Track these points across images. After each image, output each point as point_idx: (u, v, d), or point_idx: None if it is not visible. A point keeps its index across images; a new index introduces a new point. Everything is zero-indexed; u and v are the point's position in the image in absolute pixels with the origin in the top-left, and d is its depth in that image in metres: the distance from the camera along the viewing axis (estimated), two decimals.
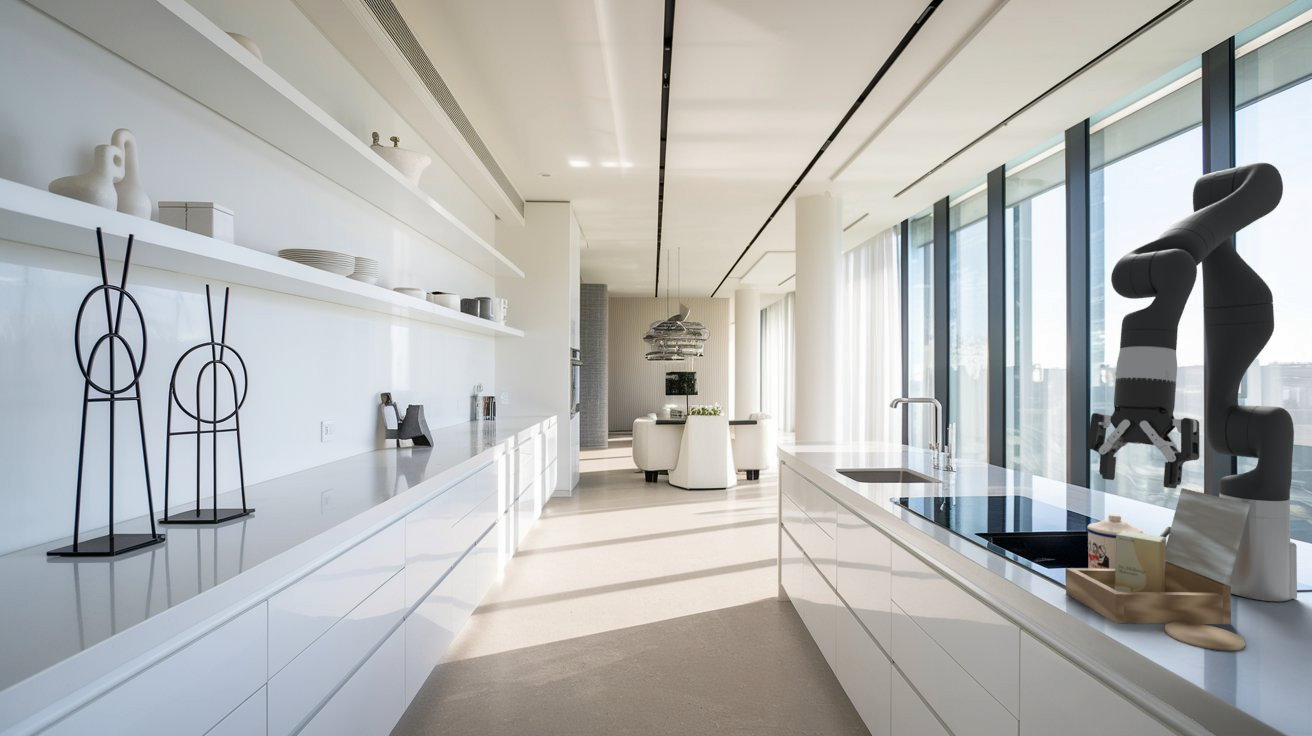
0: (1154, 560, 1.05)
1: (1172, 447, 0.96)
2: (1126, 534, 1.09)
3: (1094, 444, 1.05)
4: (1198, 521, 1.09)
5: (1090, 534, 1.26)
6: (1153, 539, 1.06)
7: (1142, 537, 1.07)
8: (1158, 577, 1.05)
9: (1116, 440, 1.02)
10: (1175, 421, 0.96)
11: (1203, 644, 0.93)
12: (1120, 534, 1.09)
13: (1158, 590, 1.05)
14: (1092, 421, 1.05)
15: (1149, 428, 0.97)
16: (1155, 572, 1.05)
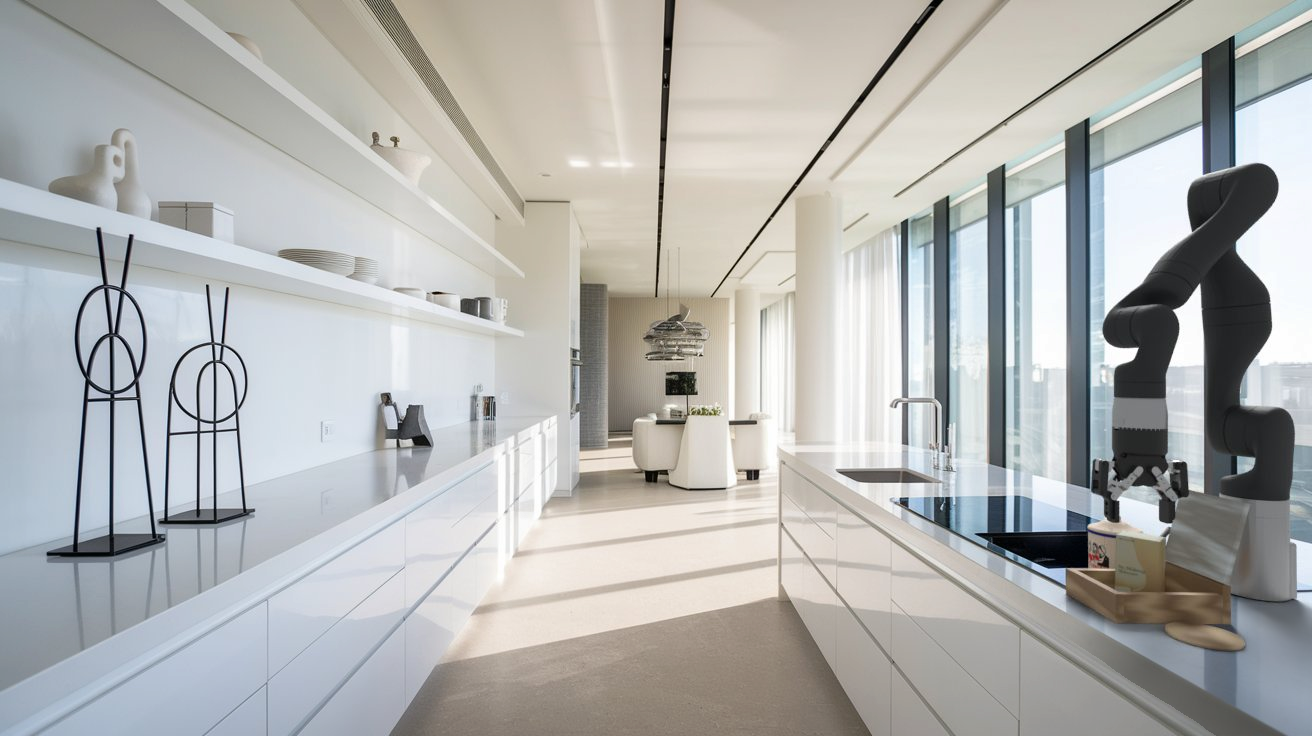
0: (1154, 560, 1.05)
1: None
2: (1126, 534, 1.09)
3: (1106, 491, 1.07)
4: (1198, 521, 1.09)
5: (1090, 534, 1.26)
6: (1153, 539, 1.06)
7: (1142, 537, 1.07)
8: (1158, 577, 1.05)
9: None
10: (1169, 464, 1.08)
11: (1203, 644, 0.93)
12: (1120, 534, 1.09)
13: (1158, 590, 1.05)
14: (1103, 468, 1.07)
15: (1160, 473, 1.06)
16: (1155, 572, 1.05)
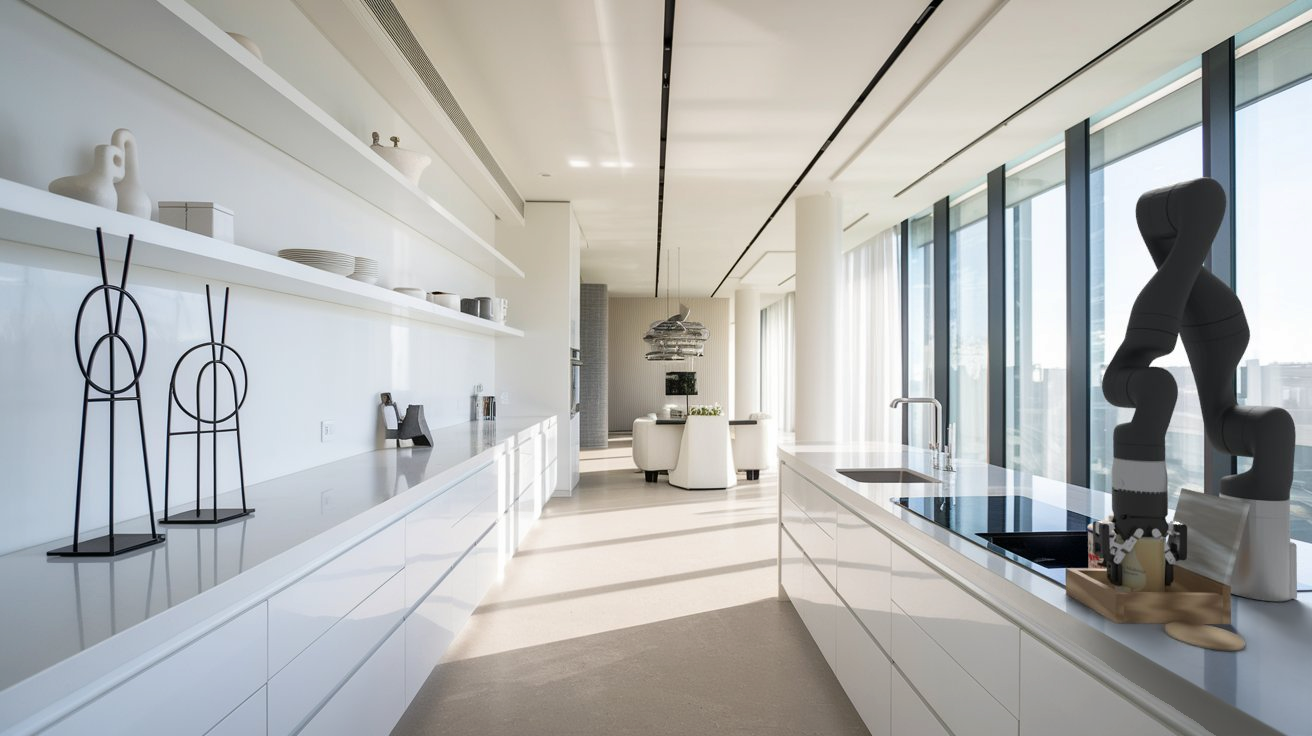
0: (1154, 560, 1.05)
1: None
2: None
3: (1109, 554, 1.07)
4: (1198, 521, 1.09)
5: (1090, 534, 1.26)
6: (1153, 539, 1.06)
7: (1142, 537, 1.07)
8: (1158, 577, 1.05)
9: None
10: (1170, 525, 1.08)
11: (1203, 644, 0.93)
12: None
13: (1158, 590, 1.05)
14: (1103, 532, 1.07)
15: (1160, 535, 1.06)
16: (1154, 572, 1.05)
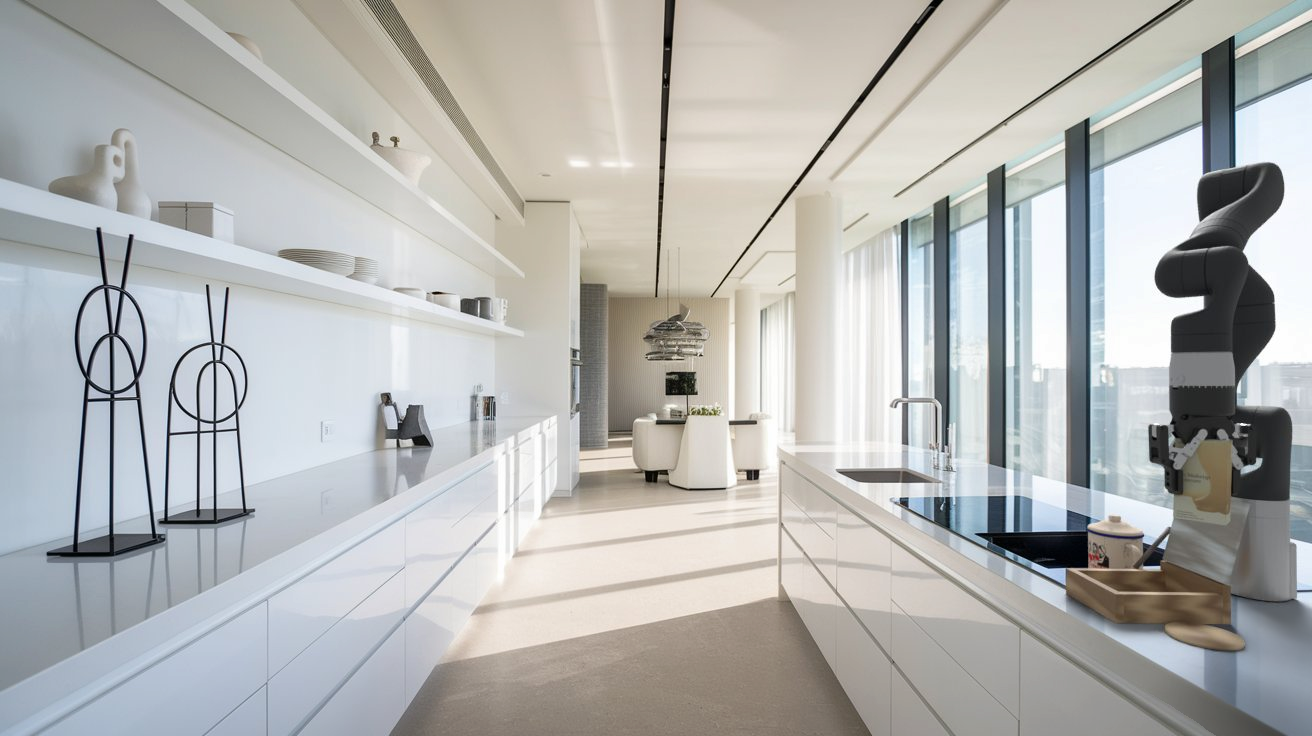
0: (1220, 464, 0.93)
1: None
2: None
3: (1168, 459, 0.96)
4: None
5: (1090, 534, 1.26)
6: (1219, 440, 0.94)
7: (1206, 439, 0.95)
8: (1225, 482, 0.93)
9: (1192, 452, 0.95)
10: (1236, 427, 0.96)
11: (1203, 644, 0.93)
12: None
13: (1225, 497, 0.93)
14: (1161, 434, 0.96)
15: (1226, 436, 0.94)
16: (1221, 477, 0.93)
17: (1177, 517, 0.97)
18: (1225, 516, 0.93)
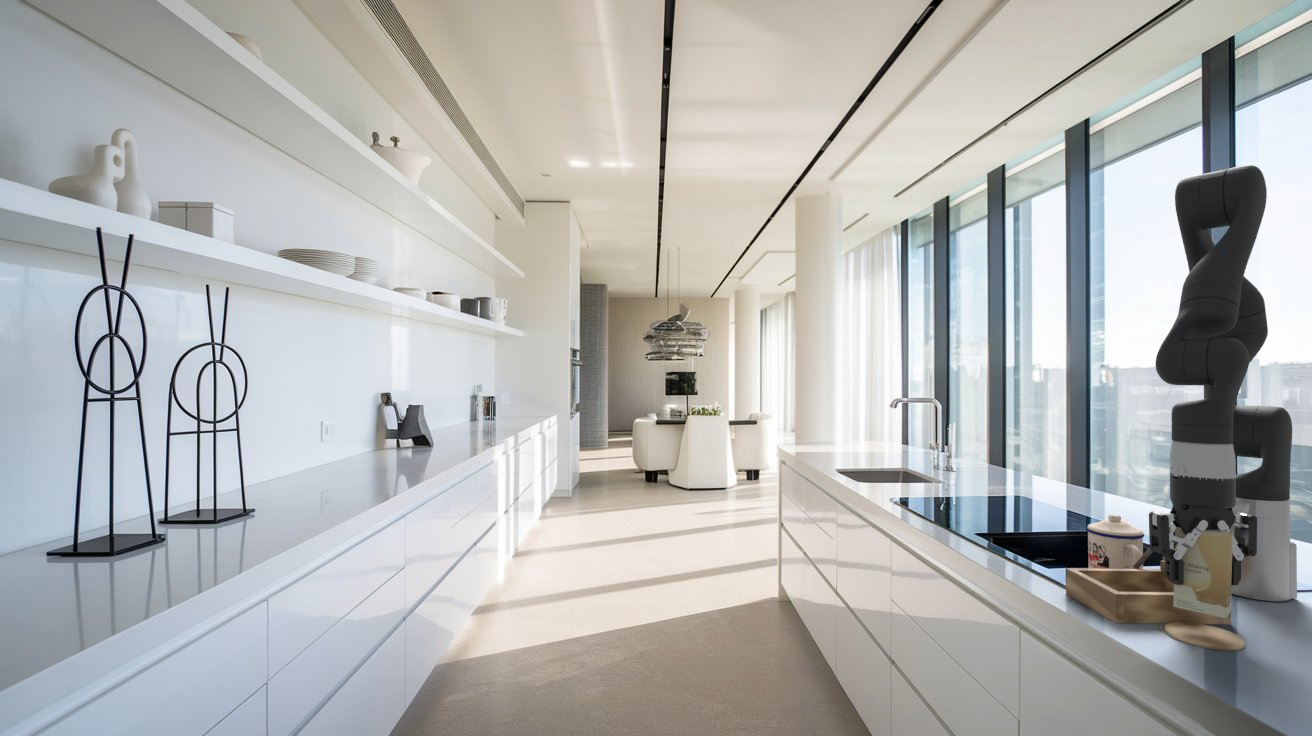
0: (1221, 556, 0.93)
1: None
2: None
3: (1168, 549, 0.95)
4: None
5: (1090, 534, 1.26)
6: (1219, 532, 0.94)
7: (1206, 530, 0.95)
8: (1226, 575, 0.93)
9: None
10: (1237, 517, 0.96)
11: (1203, 644, 0.93)
12: None
13: (1226, 590, 0.93)
14: (1162, 524, 0.95)
15: (1227, 528, 0.94)
16: (1221, 570, 0.93)
17: (1177, 606, 0.97)
18: (1225, 609, 0.93)
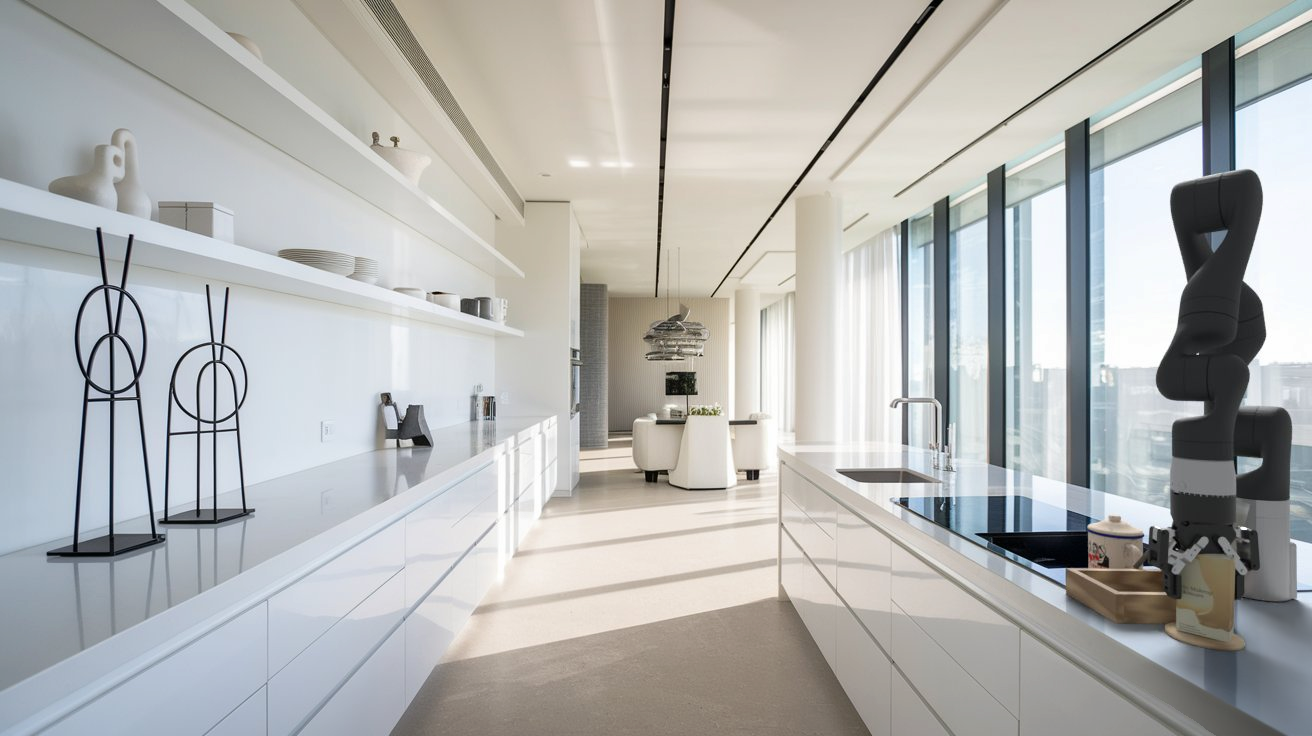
0: (1223, 580, 0.93)
1: None
2: None
3: (1166, 564, 0.95)
4: None
5: (1090, 534, 1.26)
6: (1222, 556, 0.94)
7: (1209, 554, 0.95)
8: (1228, 599, 0.93)
9: None
10: (1237, 532, 0.96)
11: (1203, 644, 0.93)
12: None
13: (1228, 614, 0.93)
14: (1162, 539, 0.95)
15: (1227, 544, 0.94)
16: (1224, 594, 0.93)
17: (1180, 629, 0.97)
18: (1228, 633, 0.93)
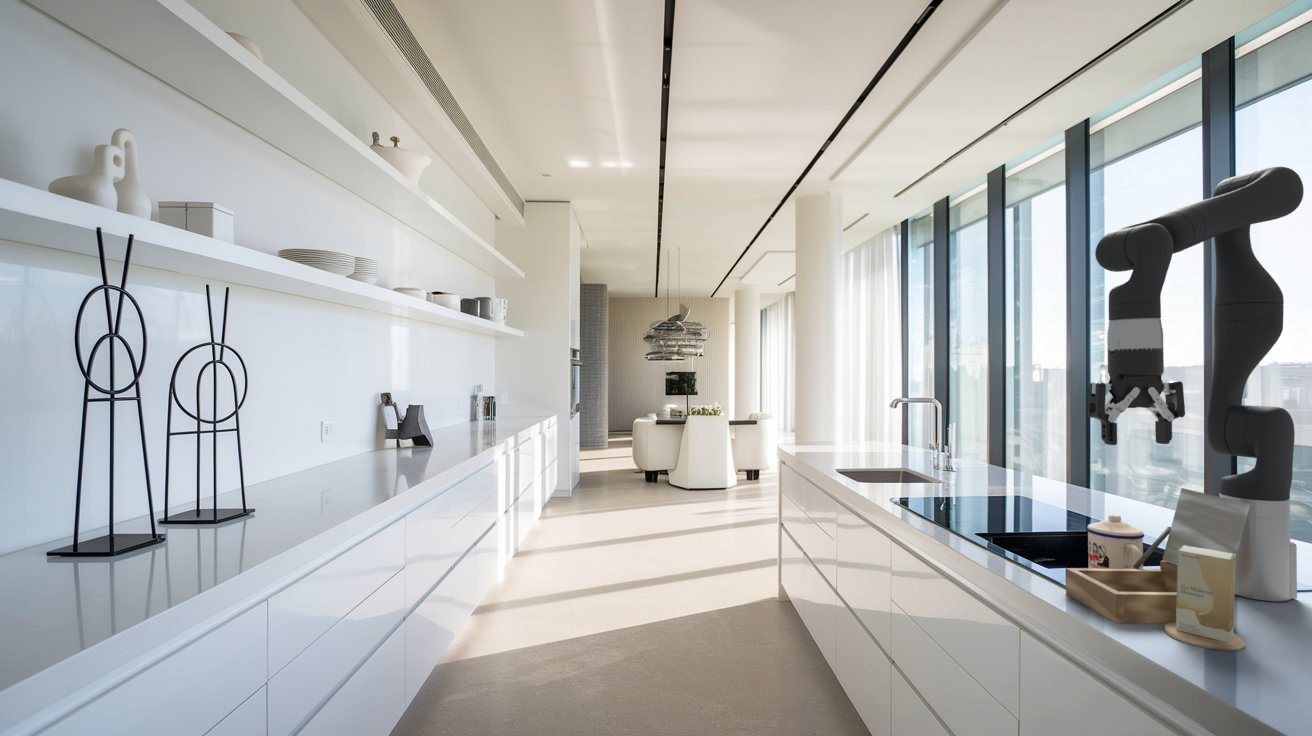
0: (1223, 580, 0.93)
1: None
2: (1189, 550, 0.97)
3: (1103, 413, 1.07)
4: (1198, 521, 1.09)
5: (1090, 534, 1.26)
6: (1222, 556, 0.94)
7: (1209, 554, 0.95)
8: (1228, 599, 0.93)
9: None
10: (1165, 384, 1.08)
11: (1203, 644, 0.93)
12: (1183, 550, 0.97)
13: (1228, 614, 0.93)
14: (1099, 391, 1.07)
15: (1156, 393, 1.06)
16: (1224, 594, 0.93)
17: (1180, 629, 0.97)
18: (1228, 633, 0.93)
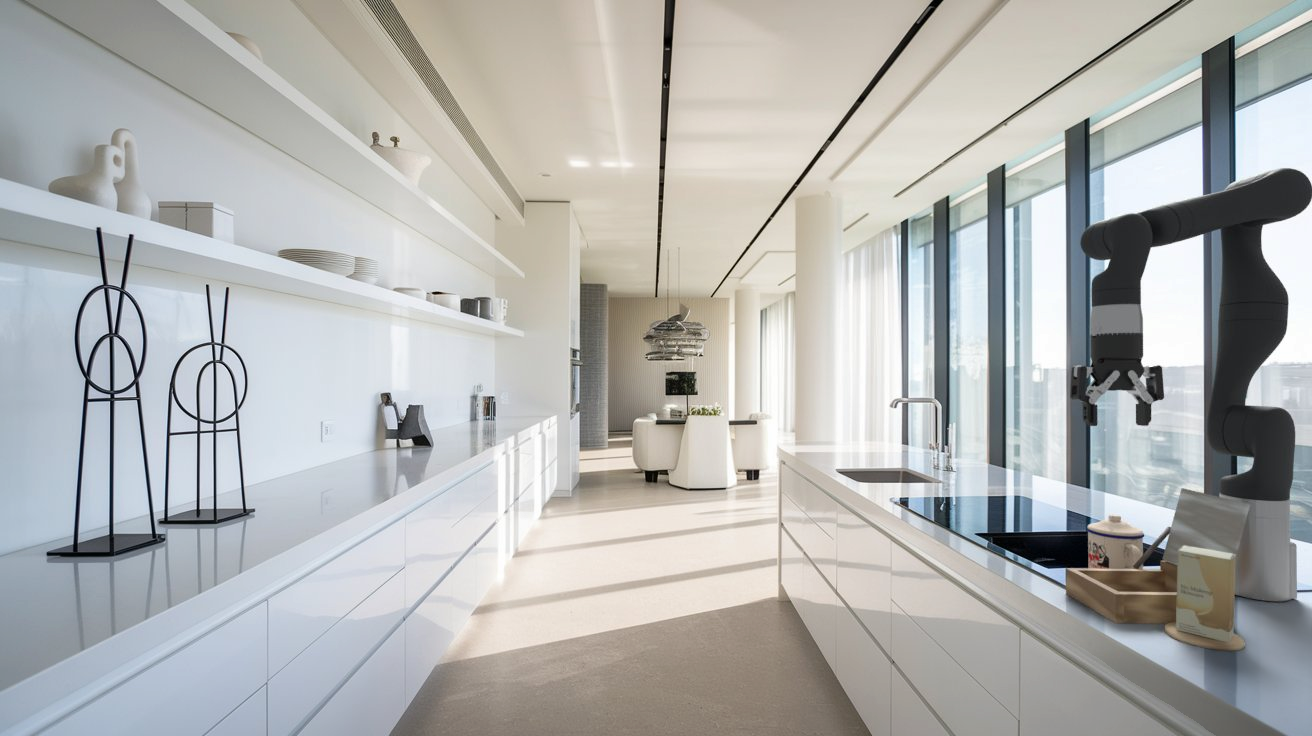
0: (1223, 580, 0.93)
1: None
2: (1189, 550, 0.97)
3: (1084, 395, 1.12)
4: (1198, 521, 1.09)
5: (1090, 534, 1.26)
6: (1222, 556, 0.94)
7: (1208, 554, 0.95)
8: (1228, 599, 0.93)
9: None
10: (1145, 368, 1.12)
11: (1203, 644, 0.93)
12: (1182, 550, 0.97)
13: (1228, 614, 0.93)
14: (1081, 374, 1.12)
15: (1136, 376, 1.10)
16: (1224, 594, 0.93)
17: (1180, 629, 0.97)
18: (1228, 633, 0.93)
